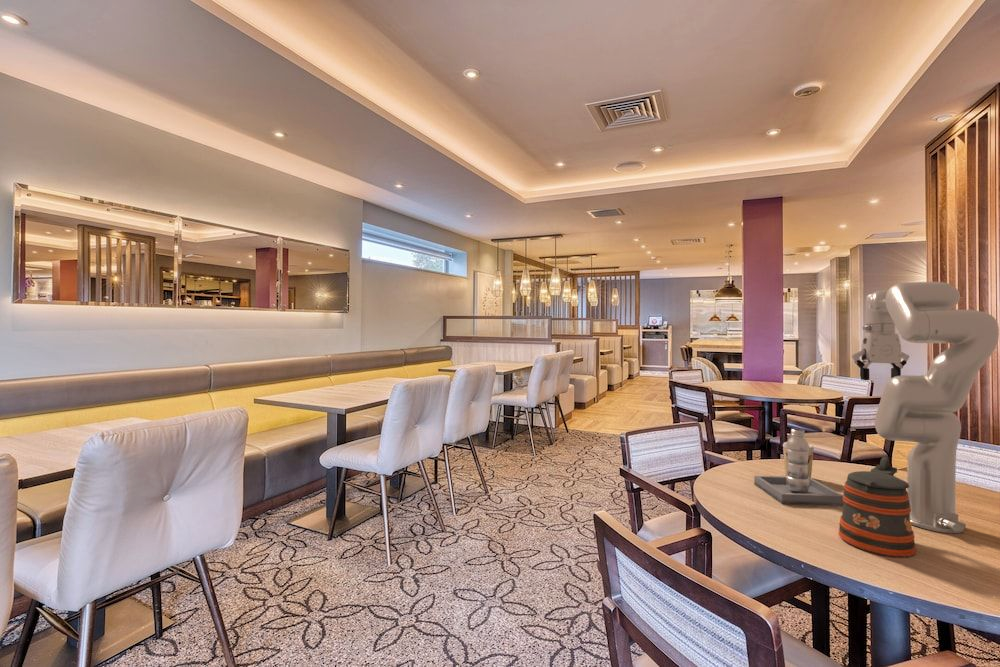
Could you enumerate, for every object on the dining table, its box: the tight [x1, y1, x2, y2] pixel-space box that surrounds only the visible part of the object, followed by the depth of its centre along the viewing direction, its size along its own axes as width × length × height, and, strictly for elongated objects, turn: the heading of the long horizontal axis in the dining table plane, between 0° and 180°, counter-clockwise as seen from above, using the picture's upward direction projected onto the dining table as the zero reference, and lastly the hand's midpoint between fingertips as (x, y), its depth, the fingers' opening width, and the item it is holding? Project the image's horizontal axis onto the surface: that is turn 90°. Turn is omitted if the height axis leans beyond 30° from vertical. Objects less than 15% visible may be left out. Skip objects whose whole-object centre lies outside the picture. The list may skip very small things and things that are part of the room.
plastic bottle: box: [785, 428, 810, 493], centre depth 145 cm, size 6×7×20 cm
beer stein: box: [838, 455, 916, 558], centre depth 113 cm, size 19×15×20 cm
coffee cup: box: [782, 441, 815, 478], centre depth 162 cm, size 9×9×12 cm
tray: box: [753, 475, 844, 507], centre depth 145 cm, size 18×18×3 cm
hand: (880, 380), depth 152 cm, fingers open, 9 cm apart
